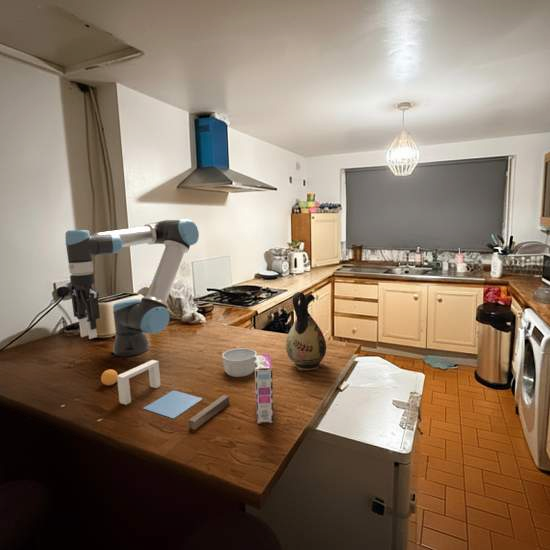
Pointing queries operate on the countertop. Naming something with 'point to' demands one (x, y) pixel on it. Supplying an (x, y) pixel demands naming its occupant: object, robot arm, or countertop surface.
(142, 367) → the bridge
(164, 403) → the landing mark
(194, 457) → the countertop surface
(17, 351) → the countertop surface
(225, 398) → the stopper
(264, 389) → the candy bar box
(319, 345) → the ceramic jug
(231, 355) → the ramekin
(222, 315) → the countertop surface
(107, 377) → the ball
